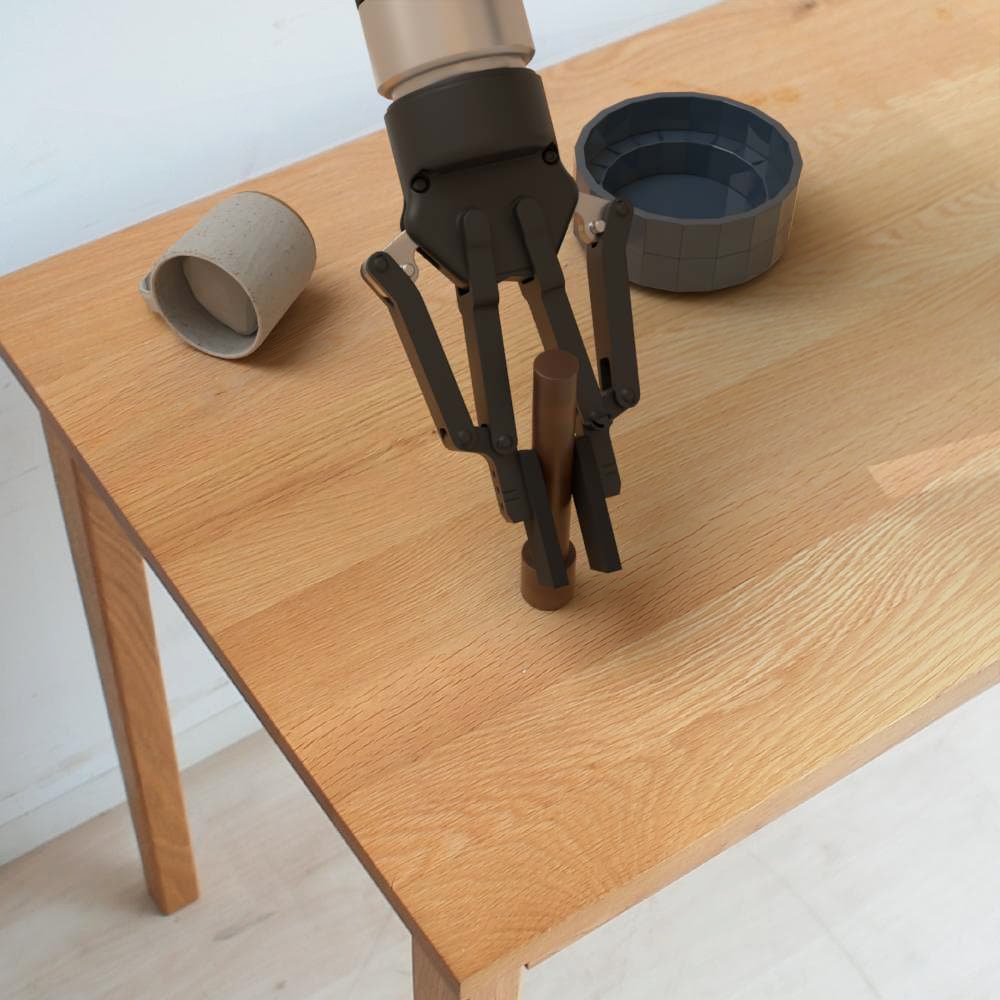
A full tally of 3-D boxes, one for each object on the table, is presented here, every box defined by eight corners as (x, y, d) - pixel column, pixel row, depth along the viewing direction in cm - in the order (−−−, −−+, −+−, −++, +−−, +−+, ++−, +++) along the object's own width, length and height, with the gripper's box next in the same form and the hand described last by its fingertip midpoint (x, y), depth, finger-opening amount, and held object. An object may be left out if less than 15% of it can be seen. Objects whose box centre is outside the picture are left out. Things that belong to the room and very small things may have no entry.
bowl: (729, 150, 101) (739, 74, 97) (826, 272, 92) (843, 195, 88) (540, 192, 98) (542, 115, 94) (622, 322, 89) (628, 245, 85)
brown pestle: (562, 562, 77) (573, 336, 65) (582, 602, 75) (597, 377, 63) (512, 576, 76) (515, 350, 64) (531, 616, 74) (537, 392, 62)
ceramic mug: (331, 290, 91) (317, 189, 85) (270, 373, 86) (251, 272, 80) (184, 254, 94) (161, 153, 88) (117, 332, 89) (88, 231, 83)
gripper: (586, 76, 72) (694, 532, 74) (292, 135, 69) (415, 612, 71) (636, 32, 65) (755, 539, 67) (310, 97, 61) (446, 629, 63)
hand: (580, 576), depth 69 cm, fingers closed on brown pestle, 2 cm apart
